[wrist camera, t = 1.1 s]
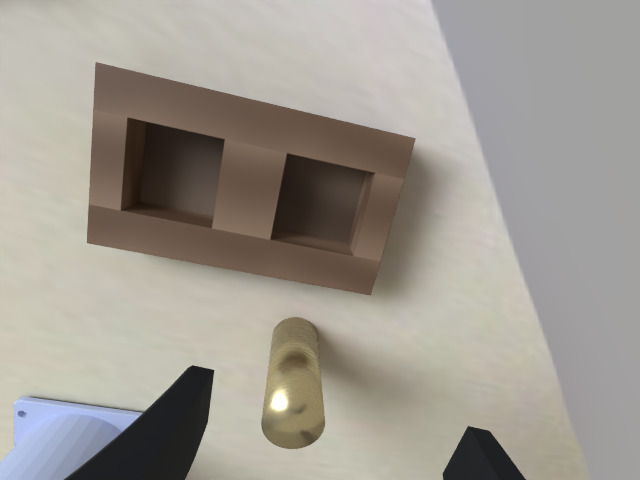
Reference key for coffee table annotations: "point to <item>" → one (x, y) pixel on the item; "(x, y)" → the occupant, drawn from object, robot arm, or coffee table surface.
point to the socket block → (240, 182)
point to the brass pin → (293, 386)
